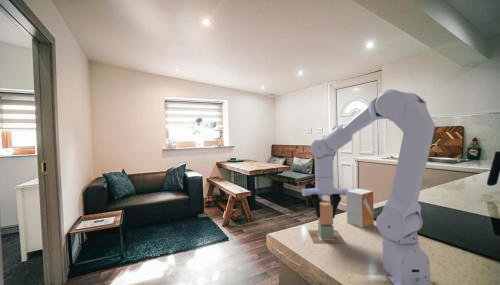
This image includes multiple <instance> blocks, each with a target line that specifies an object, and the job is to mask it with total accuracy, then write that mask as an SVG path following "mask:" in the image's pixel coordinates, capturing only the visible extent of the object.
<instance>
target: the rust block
mask: <svg viewBox="0 0 500 285" xmlns="http://www.w3.org/2000/svg"><path fill="white" fill-rule="evenodd" d="M319 209H320V218H317V221H318V222H319V223H320V224H324V225H332V226H334V218H333V206H332V205H331V204H330V202H320V207H319Z"/></svg>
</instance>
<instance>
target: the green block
mask: <svg viewBox="0 0 500 285" xmlns="http://www.w3.org/2000/svg"><path fill="white" fill-rule="evenodd" d="M317 230H318V234H319V236H320V238H321V239H334V225H324V224H320V223H319V221H318V222H317Z"/></svg>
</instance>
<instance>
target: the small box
mask: <svg viewBox="0 0 500 285" xmlns="http://www.w3.org/2000/svg"><path fill="white" fill-rule="evenodd" d="M345 197H346V223H347V224H348V225H349V224H350V225H352V226H356V227H358V228H361V229H363V228H366V227H368V226H370V225H375V222H374V220H375V219H374V216H375V214H374V211H375V210H374V191H373V190H368V189H362V188H354V189H350V190H348V196H345Z"/></svg>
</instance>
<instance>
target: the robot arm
mask: <svg viewBox="0 0 500 285" xmlns="http://www.w3.org/2000/svg"><path fill="white" fill-rule="evenodd" d="M384 119H385V120H386V119H387V120H389V121H391V122H393V123H394V124H395V126H397V127H398V128H399V129H400V130H401V131H402V133H403V134H402V139H401V143H400V149H399V153H398V159H397V164H396V169H395V173H394V177H393V178H394V179H393V183H392V188H391V193H390V197H389V198H388V199H387V201H386V202H385V203H384V205H383V208H382V211H381V212H380V214H378V216H377V217H376V220H375V224H376V228H377V230H378V232H379V233H380V234H381V238H382V240H381V242H382V267H383V269H384V271H385V272H387V274H385V276H386V277H387V278H388V279H389V281H390V282H392V284H393V285H434V284H433V283H431V268H430V267H431V266H430V258H429V256H428V255H427V253H426V252H425V251H424V250H423V249H422V248H421V246H420V241H419V235H418V231H420V230H421V229H422V227H423V224H424V223H423V219H422V215H421V210H422V206H421V204H420V203H419V198H420V193H421V191H422V190H421V189H422V186H423V185H422V184H423V180H424V176H425V172H426V167H427V163H428V159H429V155H430V150H431V147H432V141H433V138H434V133H435V128H436V127H435V123H434V120H433V118H432V116H431V113H430V112H429V110H428V108H427V101H425V100H424V99H423V98H422V97H421V96H419V95H418V94H417V93H413V92H405V91H399V90H398V89H386V90H384V91H382V92H381V93H380V94H379V95H378V96H376V97H374V98H372V99H371V100H370V102H369V103H368V105H367V106H366V107H365V108H363V109H362V110H361V111H360V112H358V114H356V116H354V117H353V118H352V119H351V120H349V121H348V122H347V123H346V124H345V125H338V126H336V125H335V126H334V127H332V130H331V131H330V132H329V133H328V134H326V135H323V136H322V138H321V139H315V140H313V142H312V143H311V145H310V152H311V155H312V156H313V157H314V177H315V178H314V179H315V185H314V186H315V187H313V188H312V187H311V188H302V189H301V195H302V196H303V197H306V196H309V198H310V200H311V202H312V204H313V207H314V210H315V215H316V219H318V218H320V209H319V207H320V203H321V198H319V197H320V196H329V203H330V204H331V205H332V206H333V219H335V216H336V212H337V210H338V206H339V204H340V202H341V201H342V197H341V196H345V197H346V196H348V191H349V190H348V188H341V187H340V188H336V187H335V186H334V180H335V179H334V161H335V155H336V154H337V151H339V150H340V149H341V148H343V147H344V146H346V145H347V144H349V143H350V142H351V141H352V140H353V136H354V134H356V133H358V132H359V131H361V130H363V129H364V128H366V127H368V126H369V125H370V124H372V123H373V122H376V120H384ZM334 187H335V188H334Z"/></svg>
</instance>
